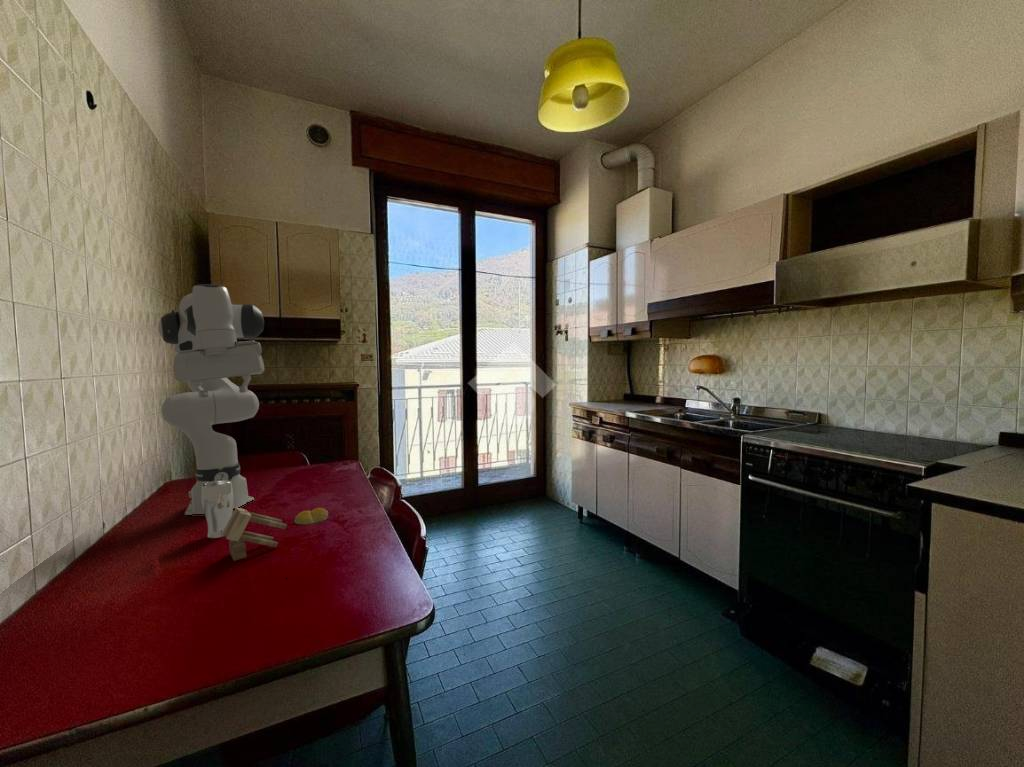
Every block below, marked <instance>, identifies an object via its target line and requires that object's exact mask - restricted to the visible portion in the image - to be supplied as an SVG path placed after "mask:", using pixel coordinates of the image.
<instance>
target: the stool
mask: <svg viewBox="0 0 1024 767" xmlns="http://www.w3.org/2000/svg"><path fill="white" fill-rule="evenodd" d="M249 522H252V523H256V524H260V525H265V526H268V527H274V528H279V529H283V530H285V529H286V528H287V523H284V522H283V520H282V519H279V518H276V517H271V516H267V515H264V514H263V515H262V514H259V513H255V512H251V511H248V510H247V509H244V508H242V507H240V508H237V507H236V508H235V510H233V512H232V516H231V518H230V519H229V521H228V523H227V525H226V527H225V529H224V531H223V534H224V535H225V536H224V537H225V538H226V540H229V541H232V540H233V541H239V540H242V541H244V542H249V543H253V544H259V545H263V546H267V547H273V548H277V546H278V545H279V542H278V541H275V540H274V536H269V535H265V534H260V533H256V532H252V531H246V527H247V525H248V524H249Z"/></svg>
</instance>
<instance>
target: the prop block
mask: <svg viewBox="0 0 1024 767" xmlns="http://www.w3.org/2000/svg"><path fill="white" fill-rule="evenodd" d="M245 542H246V541H242V540H239V541H233V540H229V542H228V543H229V544H228V545H229V555H230V556H231V558H232V560H233V561H238V560H241V559H245V558H247V546H246V543H245Z"/></svg>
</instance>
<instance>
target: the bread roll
mask: <svg viewBox="0 0 1024 767" xmlns="http://www.w3.org/2000/svg"><path fill="white" fill-rule="evenodd" d="M328 517H329V511H328V510H327V509H325V508H324V507H316V508H314V509H312V510H303V511H300V512H299V513H298V514H297V515H296V516H295V518H294V523H295V524H296V525H311V524H312V525H313V524H316V523H321V522H323V521H326V520H327V519H328Z"/></svg>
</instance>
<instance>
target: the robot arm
mask: <svg viewBox="0 0 1024 767" xmlns="http://www.w3.org/2000/svg"><path fill="white" fill-rule="evenodd" d="M191 291H192V292H191V293H188V294H186V295H185V296H183V297H182V298H181V300H180V301H179V305H178V306H179V307H178V309H179V311H177V310H175V309H172V310H171V312H169V313H166V314H164V315H162V316H161V318H160V320H159V322H158V325H157V330H158V333H159V335H160V337H161V338H162V340H163V341H164V342H165V343H166V344H170V345H171V344H172V345H174V351H175V352H176V353H177V354H175V356H174V358H173V377H174V379H175V380H176V381H178V382H179V383H187V386H188V388H189V389H190V390H191V391H187V392H186V391H185V392H182V393H178V394H177V393H176V394H174V395H170V396H169V395H168V397H167V398H166V399H165V400H164V401H163V403H162V406H161V410H160V411H161V416H162V418H163V420H164V421H165V423H167V424H168V425H169V426H171V427H173V428H176V429H177V430H179V431H181V432H182V433H183V434H185V436H186V437H187V438H188V439H189V440H190V442H191V444H192V446H193V450H194V451H193V452H194V456H195V463H196V468H195V472H194V475H195V480H196V482H195V484H194V485H193V486H192V487H191V490H190V491H188V498H189V499H191V500H189V501H190V503H189V505H188V506H187V508H186V510H185V511H184V516H185V515H192V514H205V513H204V510H203V506H202V485H203V484H205V483H208V482H211V481H216V480H226V479H227V480H231V482H232V488H233V495H234V504H233V509H234V508H236V507H237V508H238V507H240V506H242V505H244V504H246V503H247V502H250V501H252V500H254V501H255V498H254V496H250V495H249V492H248V484H247V478H246V477H244V476H242V475H241V474H240V473H241V465H240V462H239V460H238V446H237V442H236V440H235V438H233V437H232V436H230V435H227V434H225V433H220V432H217V431H215V430H214V429H213V425H217V424H218V425H219V424H225V423H226V424H229V423H237V422H241V421H245V420H248V419H252V418H254V417H255V416H256V415H257V413H258V411H259V409H260V408H259V407H260V402H259V399H258V398H259V397H257V395H256V394H255V393H254V392H253V391H251V390H250V389H248V386H249V384H250V383H251V382H250V381H251V380H252V375H253V376H254V375H260V374H263V373H264V372H265V364H264V359H263V357H262V352H263V347H262V345H261V343H260V342H259V341H256V340H253V339H255V338H257V337H258V336H260V335H261V334H262V332H263V331H264V329H265V320H264V319H265V318H264V316H263V312H262V311H261V310H260V309H259V308H258V307H257V306H255V305H254V304H252V303H249V304H248V303H247V304H246V303H245V304H234V303H232V300H231V297H230V296H231V295H230V293H229V290H228V288H227V287H225V286H224V285H221V284H213V283H212V284H211V283H204V284H203V283H201V284H196V285H194V286H192V290H191ZM238 338H239V339H240V338H245V339H252V340H247V341H246V340H245V341H244V340H243V341H242V340H241V341H238V340H237V339H238ZM235 377H242V380H243V382H242V385H239V386H238V385H237V384H235V383H234V382H232V381H231V380H230V379H229V378H235ZM250 503H251V502H250ZM246 505H247V504H246ZM244 506H245V505H244ZM242 507H243V506H242ZM240 508H241V507H240ZM192 516H193V515H192Z"/></svg>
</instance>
